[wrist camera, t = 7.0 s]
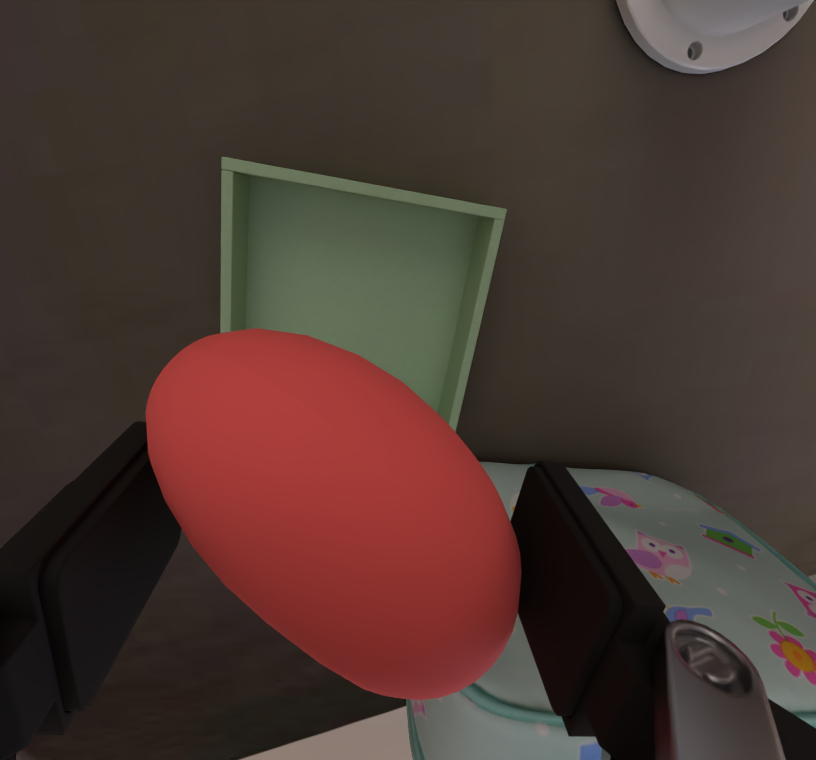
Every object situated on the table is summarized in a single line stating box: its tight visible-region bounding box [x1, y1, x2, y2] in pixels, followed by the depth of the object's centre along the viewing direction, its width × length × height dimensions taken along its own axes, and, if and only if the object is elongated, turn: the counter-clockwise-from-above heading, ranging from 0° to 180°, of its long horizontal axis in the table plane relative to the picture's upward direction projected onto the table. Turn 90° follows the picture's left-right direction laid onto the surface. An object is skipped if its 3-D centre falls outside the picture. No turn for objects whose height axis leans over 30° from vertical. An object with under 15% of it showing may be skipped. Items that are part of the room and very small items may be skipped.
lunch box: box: [406, 462, 816, 760], centre depth 27 cm, size 27×10×21 cm, turn 82°
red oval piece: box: [146, 328, 522, 700], centre depth 9 cm, size 5×9×6 cm, turn 23°
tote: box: [220, 157, 507, 432], centre depth 27 cm, size 15×15×4 cm
